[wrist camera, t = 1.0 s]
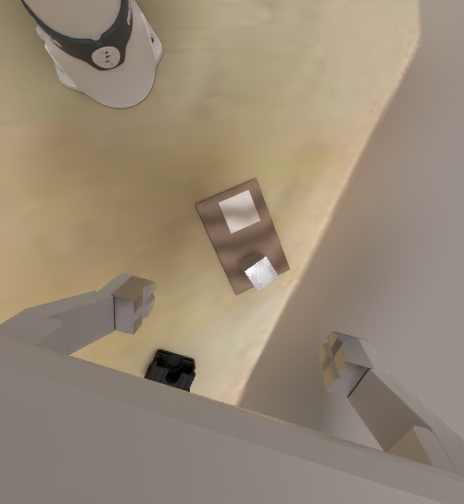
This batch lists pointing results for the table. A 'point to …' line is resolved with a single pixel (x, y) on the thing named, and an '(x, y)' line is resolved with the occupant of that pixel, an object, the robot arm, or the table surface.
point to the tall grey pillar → (257, 269)
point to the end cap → (172, 370)
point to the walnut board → (241, 231)
